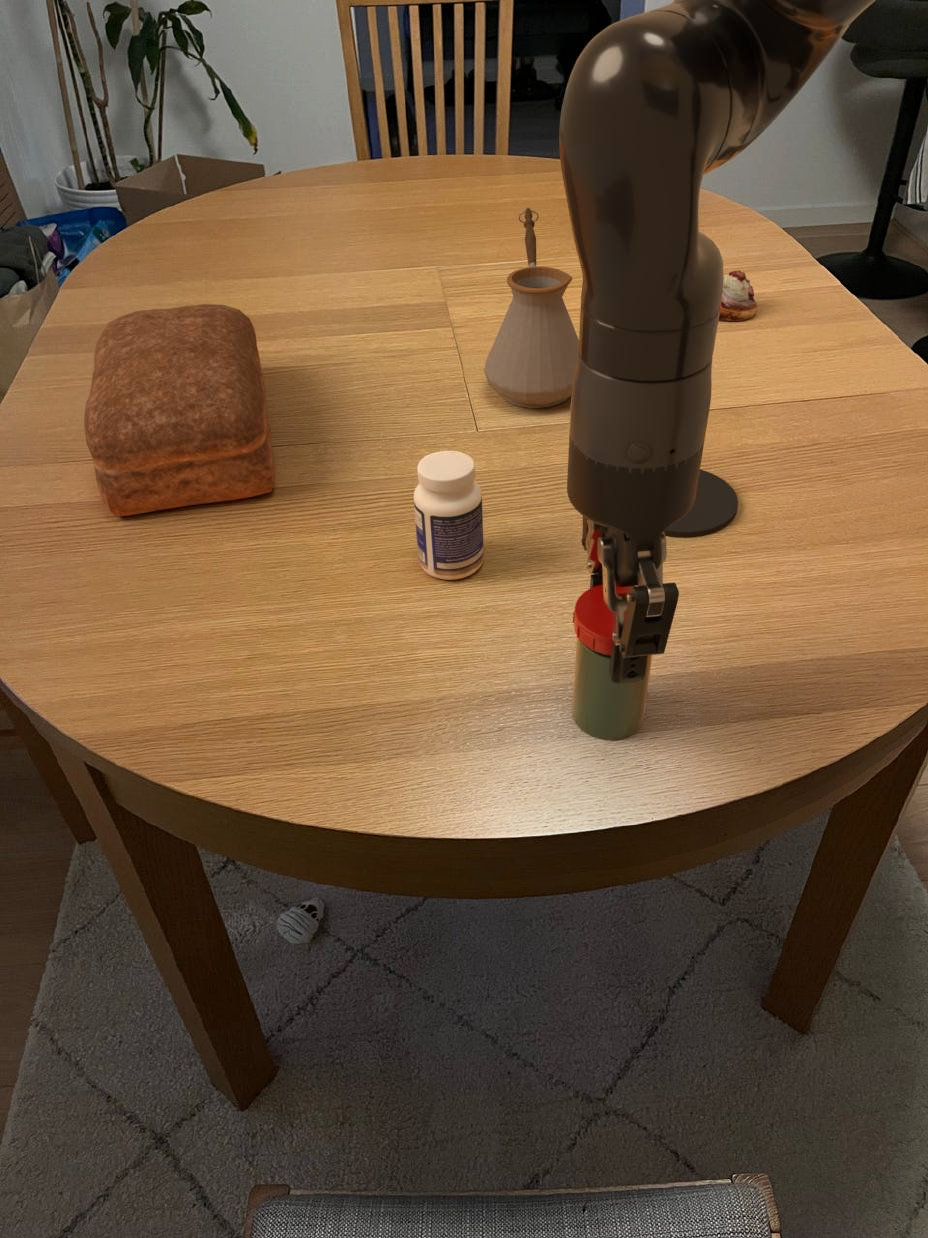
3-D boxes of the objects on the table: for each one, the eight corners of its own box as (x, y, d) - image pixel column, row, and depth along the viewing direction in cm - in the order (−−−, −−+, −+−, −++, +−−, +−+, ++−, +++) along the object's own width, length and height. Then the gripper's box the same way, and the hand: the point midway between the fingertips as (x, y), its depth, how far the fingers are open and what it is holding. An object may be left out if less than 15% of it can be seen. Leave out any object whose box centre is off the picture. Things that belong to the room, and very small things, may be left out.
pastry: (768, 315, 117) (776, 275, 113) (719, 327, 115) (726, 287, 111) (729, 292, 122) (735, 254, 119) (681, 304, 120) (686, 265, 117)
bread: (264, 365, 111) (246, 270, 103) (281, 501, 89) (260, 393, 82) (118, 384, 109) (88, 288, 101) (100, 528, 87) (60, 419, 80)
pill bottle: (496, 554, 82) (494, 457, 75) (461, 590, 79) (457, 491, 72) (441, 535, 84) (435, 439, 78) (405, 569, 81) (396, 471, 74)
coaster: (747, 483, 89) (749, 478, 89) (723, 548, 82) (724, 542, 81) (636, 461, 93) (636, 456, 92) (602, 521, 85) (603, 516, 85)
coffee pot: (593, 415, 100) (602, 276, 90) (486, 419, 100) (483, 281, 90) (573, 329, 116) (578, 203, 106) (480, 333, 116) (478, 207, 106)
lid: (589, 591, 65) (591, 574, 64) (669, 612, 63) (672, 595, 62) (561, 642, 61) (562, 625, 60) (645, 666, 59) (647, 649, 58)
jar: (652, 698, 69) (666, 604, 62) (632, 748, 65) (644, 654, 59) (585, 679, 70) (592, 586, 64) (562, 727, 67) (567, 633, 61)
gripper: (746, 492, 47) (701, 718, 58) (666, 363, 58) (641, 575, 69) (600, 506, 46) (583, 731, 58) (547, 374, 57) (541, 585, 68)
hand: (614, 645), depth 63 cm, fingers closed on lid, 5 cm apart
